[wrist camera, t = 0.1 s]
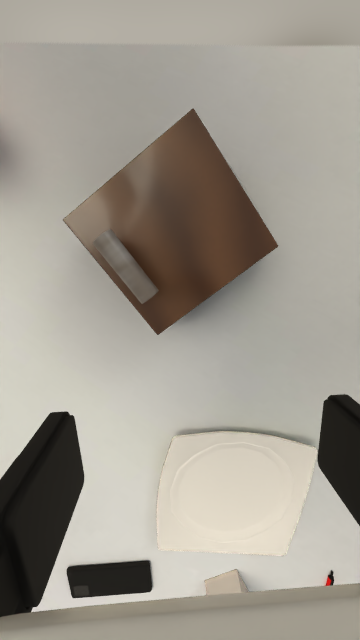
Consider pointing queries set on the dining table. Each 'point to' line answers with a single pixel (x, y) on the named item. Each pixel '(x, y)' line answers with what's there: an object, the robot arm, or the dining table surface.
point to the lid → (172, 225)
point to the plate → (232, 492)
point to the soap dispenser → (225, 584)
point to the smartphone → (109, 579)
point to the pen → (330, 579)
